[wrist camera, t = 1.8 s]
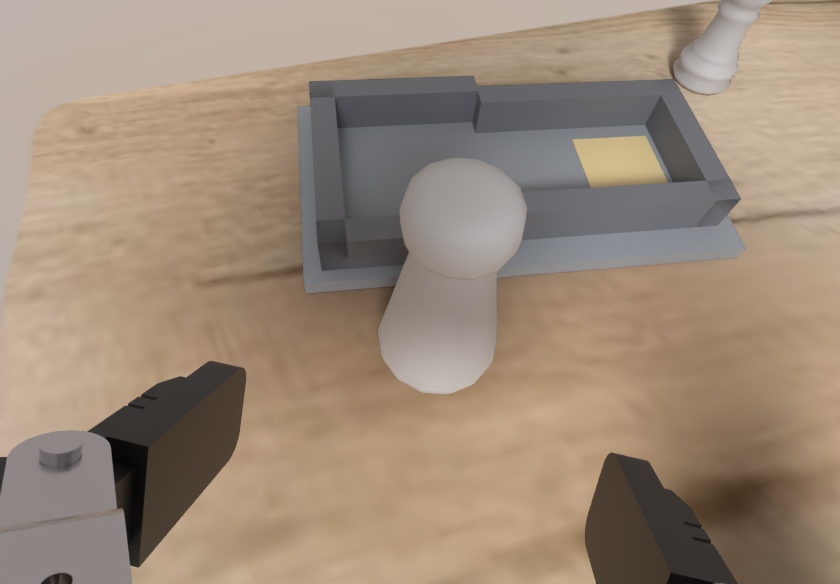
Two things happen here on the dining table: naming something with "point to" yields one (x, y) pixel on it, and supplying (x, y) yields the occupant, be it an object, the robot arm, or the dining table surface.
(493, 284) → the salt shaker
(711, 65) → the rook chess piece
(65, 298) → the dining table surface
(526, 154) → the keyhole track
